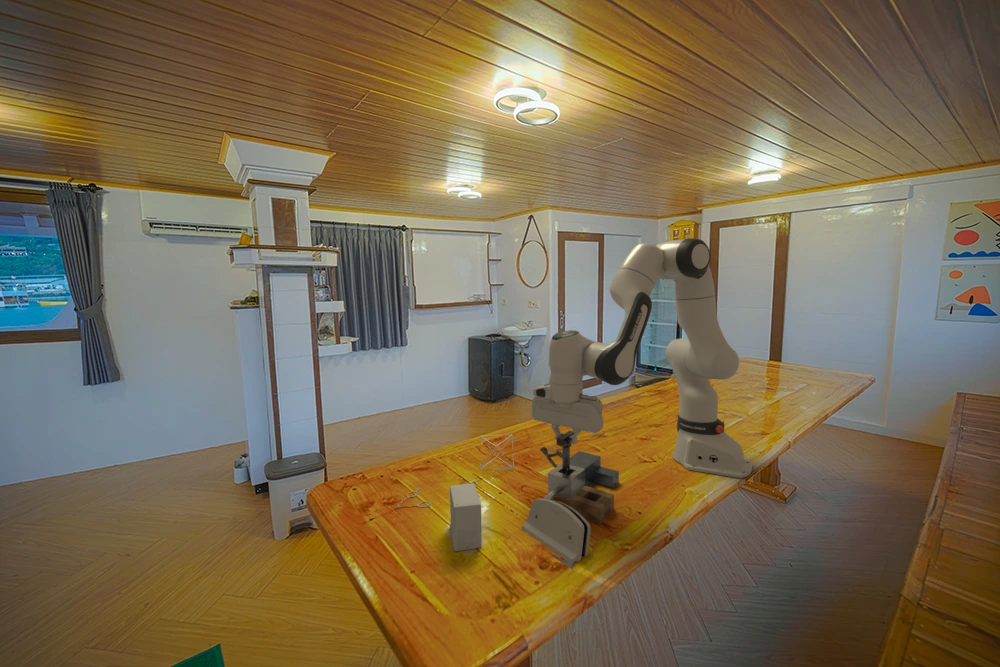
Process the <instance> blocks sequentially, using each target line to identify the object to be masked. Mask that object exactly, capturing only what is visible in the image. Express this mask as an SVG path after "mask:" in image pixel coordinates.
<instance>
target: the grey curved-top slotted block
mask: <svg viewBox="0 0 1000 667" xmlns="http://www.w3.org/2000/svg"><path fill="white" fill-rule="evenodd" d="M520 529H521V530H522V531H524V533H527V535H530V536H531V537H532V538H534V539H535V540H537V541H538V542H539V543H540V544H542V545H543V546H545V547H547V548H548V549H549V550H551V551H553V552H554V553H556V554H557V555H558V556H557V555H554V554H553V553H550V552H547V551H546V552H547V553H548V554H549V555H550V556H552V557H553V558H555V559H556V560H557V561H559V562H560V563H562V564H563V565H564V566H566V567H567V568H569V569H570V570H571V569H573V568H574V564H575V562H580V561H581V560H582V558H584V557H586V556H587V555H588V554H589V550H590V549H589V547H590V539H591V532H592V528H591V525H590V523H589V522H588V520H586V519H584V518H583V517H582V516H581V515H580V514H579V513H578V512H577V511H576V510H574V509H573V508H571V507H570V505H568V504H566V503H564V502H562V501H558V500H556V499H543V498H536V499H533V501H532V503H531V505H530V509H529V513H528V514H527V518H526V521H525V522H524V523H523V524H522V525H521V528H520ZM559 556H560V557H559ZM561 557H562V558H561Z"/></svg>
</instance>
